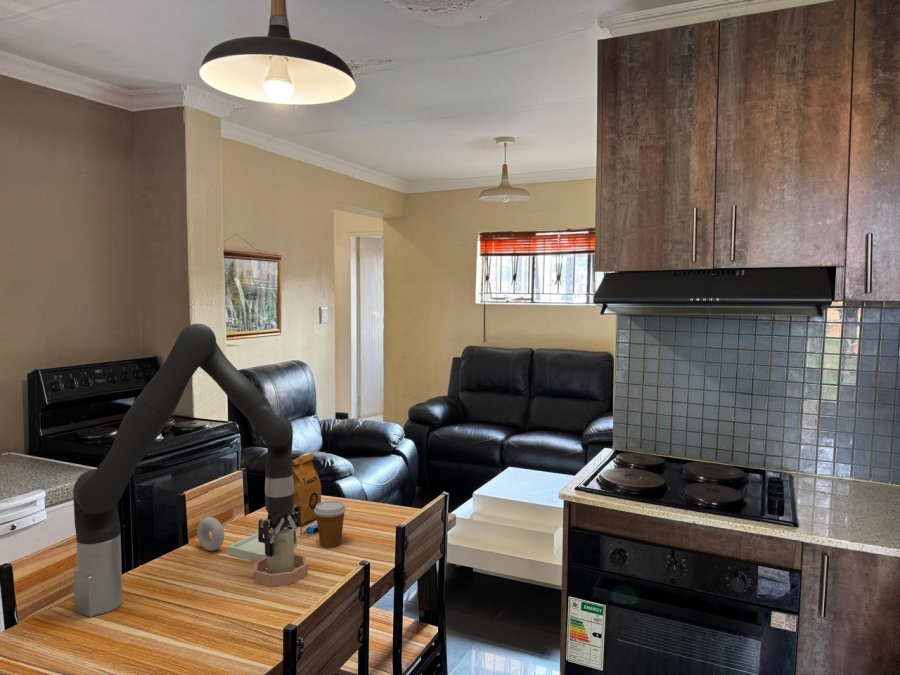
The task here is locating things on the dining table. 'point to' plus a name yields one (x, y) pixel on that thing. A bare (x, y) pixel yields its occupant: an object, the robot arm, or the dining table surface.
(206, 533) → the donut
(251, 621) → the dining table surface
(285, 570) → the skincare box
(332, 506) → the disposable coffee cup
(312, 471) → the coffee package
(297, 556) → the holder ring
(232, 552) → the tray
